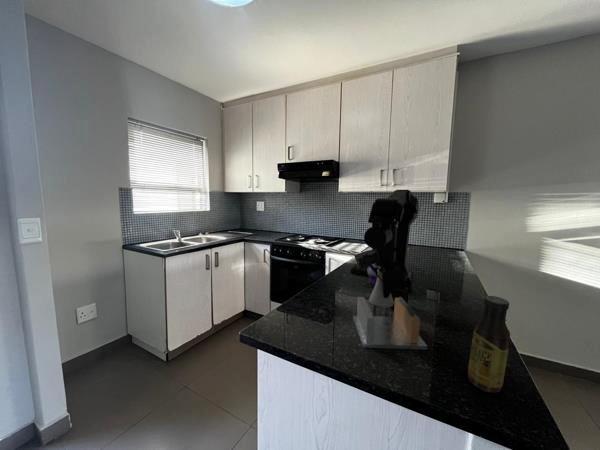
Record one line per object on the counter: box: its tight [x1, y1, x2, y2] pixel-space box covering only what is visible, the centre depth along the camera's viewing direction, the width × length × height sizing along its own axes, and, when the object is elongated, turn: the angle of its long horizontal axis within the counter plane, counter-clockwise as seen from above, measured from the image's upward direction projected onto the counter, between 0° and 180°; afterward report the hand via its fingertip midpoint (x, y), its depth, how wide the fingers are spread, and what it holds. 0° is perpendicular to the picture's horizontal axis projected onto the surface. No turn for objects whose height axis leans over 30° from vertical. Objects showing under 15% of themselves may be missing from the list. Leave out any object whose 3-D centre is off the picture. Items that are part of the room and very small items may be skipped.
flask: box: [368, 269, 394, 308], centre depth 74 cm, size 7×7×10 cm
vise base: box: [352, 296, 428, 351], centre depth 75 cm, size 17×16×8 cm
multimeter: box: [350, 264, 370, 278], centre depth 130 cm, size 13×19×5 cm
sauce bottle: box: [467, 295, 511, 394], centre depth 54 cm, size 6×6×20 cm
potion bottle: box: [367, 267, 377, 287], centre depth 115 cm, size 9×9×12 cm
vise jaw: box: [393, 297, 421, 343], centre depth 75 cm, size 2×14×8 cm, turn 178°
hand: (382, 294), depth 74 cm, fingers closed on flask, 5 cm apart
